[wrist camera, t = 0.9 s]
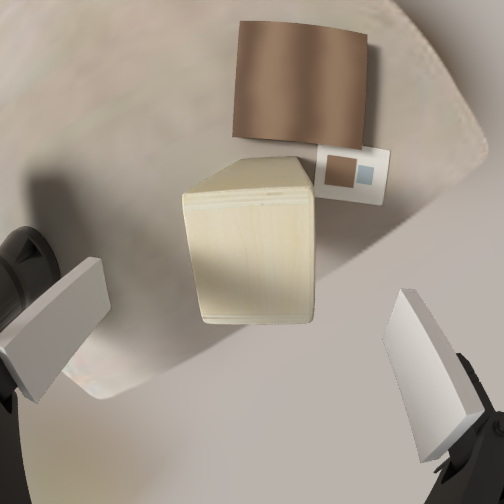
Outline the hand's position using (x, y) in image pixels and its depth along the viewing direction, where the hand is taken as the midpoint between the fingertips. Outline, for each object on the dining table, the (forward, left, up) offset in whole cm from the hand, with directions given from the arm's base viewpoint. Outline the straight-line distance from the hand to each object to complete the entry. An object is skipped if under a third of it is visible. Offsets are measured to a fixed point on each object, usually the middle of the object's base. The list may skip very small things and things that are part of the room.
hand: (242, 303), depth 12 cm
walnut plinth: (+3, +13, -24) cm, 28 cm away
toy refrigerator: (0, 0, -25) cm, 25 cm away
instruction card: (+10, +3, -24) cm, 26 cm away
